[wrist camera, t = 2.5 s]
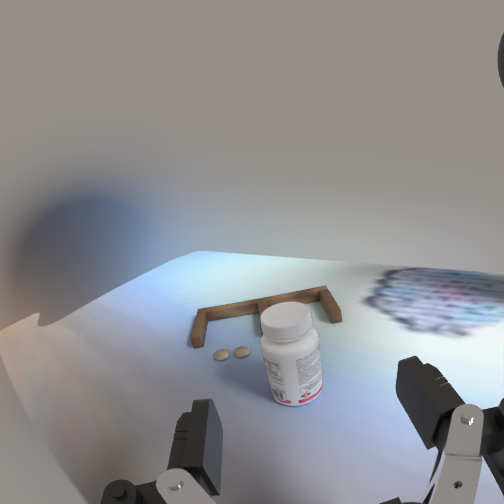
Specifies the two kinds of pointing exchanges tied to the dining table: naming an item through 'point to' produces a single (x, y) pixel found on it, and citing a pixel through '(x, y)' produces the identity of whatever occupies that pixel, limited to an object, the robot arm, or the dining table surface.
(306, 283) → the dining table surface
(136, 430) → the dining table surface
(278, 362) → the pill bottle
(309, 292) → the slot rack
